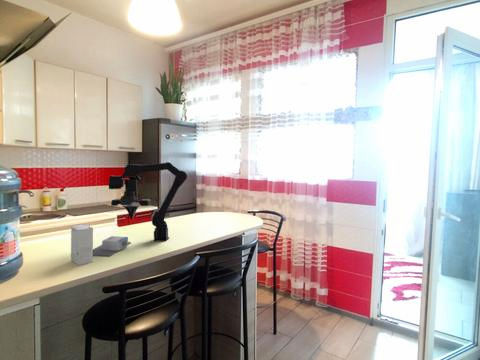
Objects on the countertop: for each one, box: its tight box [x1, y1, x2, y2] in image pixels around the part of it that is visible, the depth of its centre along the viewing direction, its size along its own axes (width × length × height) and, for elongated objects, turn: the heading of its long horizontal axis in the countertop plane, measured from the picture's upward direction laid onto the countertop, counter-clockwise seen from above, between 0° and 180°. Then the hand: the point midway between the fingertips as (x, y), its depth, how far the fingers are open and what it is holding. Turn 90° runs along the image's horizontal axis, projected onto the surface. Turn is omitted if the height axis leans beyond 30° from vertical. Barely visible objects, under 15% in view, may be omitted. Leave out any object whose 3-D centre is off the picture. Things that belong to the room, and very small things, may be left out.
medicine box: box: [101, 235, 129, 251], centre depth 135 cm, size 8×4×9 cm
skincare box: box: [70, 224, 94, 266], centre depth 118 cm, size 8×6×15 cm
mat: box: [93, 241, 132, 257], centre depth 135 cm, size 12×20×1 cm, turn 175°
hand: (131, 219), depth 146 cm, fingers closed
